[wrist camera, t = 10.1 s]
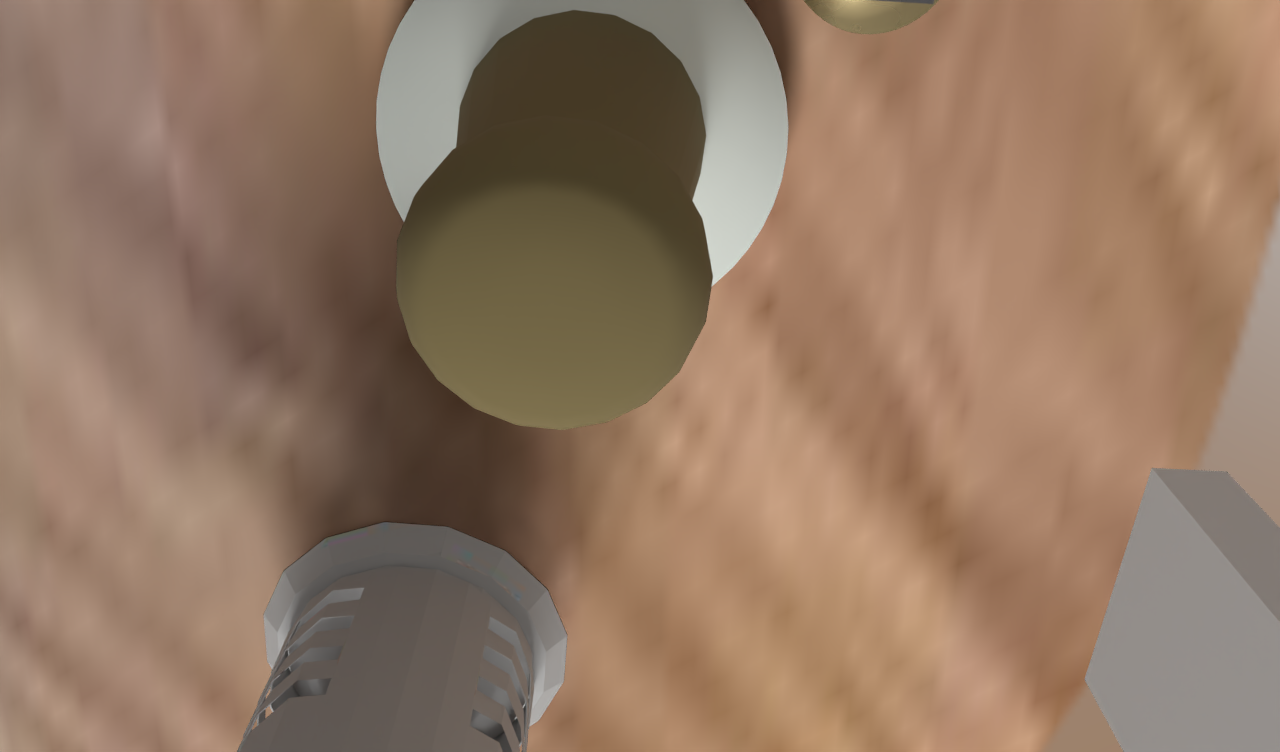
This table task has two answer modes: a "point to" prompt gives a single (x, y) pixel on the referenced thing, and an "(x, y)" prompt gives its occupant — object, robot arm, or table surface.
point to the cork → (562, 227)
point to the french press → (407, 647)
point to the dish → (660, 3)
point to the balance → (870, 13)
